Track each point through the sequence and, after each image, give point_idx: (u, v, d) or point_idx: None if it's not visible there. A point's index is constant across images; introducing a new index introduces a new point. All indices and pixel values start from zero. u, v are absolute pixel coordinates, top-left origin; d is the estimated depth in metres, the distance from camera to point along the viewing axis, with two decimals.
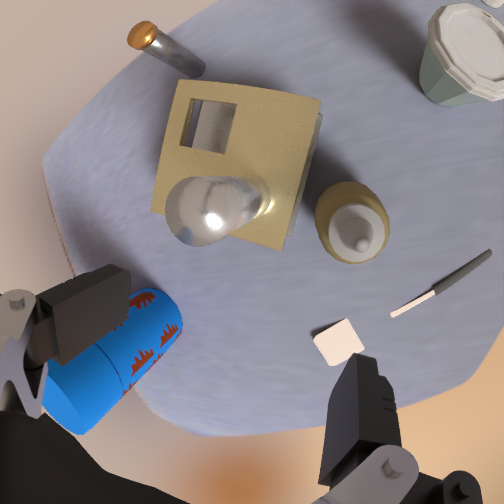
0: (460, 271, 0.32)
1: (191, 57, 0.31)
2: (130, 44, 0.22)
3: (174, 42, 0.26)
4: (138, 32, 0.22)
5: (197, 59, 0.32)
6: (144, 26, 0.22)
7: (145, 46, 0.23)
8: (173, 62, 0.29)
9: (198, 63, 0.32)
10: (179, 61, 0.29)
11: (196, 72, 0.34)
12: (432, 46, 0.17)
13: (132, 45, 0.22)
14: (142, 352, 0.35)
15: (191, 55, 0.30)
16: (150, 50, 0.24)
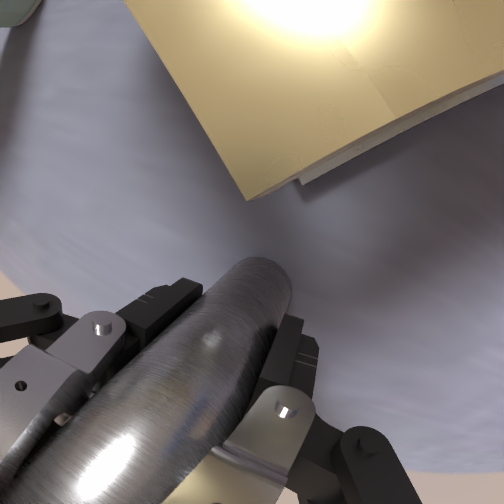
0: None
1: (193, 303, 0.09)
2: None
3: None
4: None
5: None
6: None
7: None
8: (218, 353, 0.06)
9: (220, 279, 0.11)
10: (205, 330, 0.07)
11: (256, 268, 0.11)
12: None
13: None
14: None
15: None
16: None
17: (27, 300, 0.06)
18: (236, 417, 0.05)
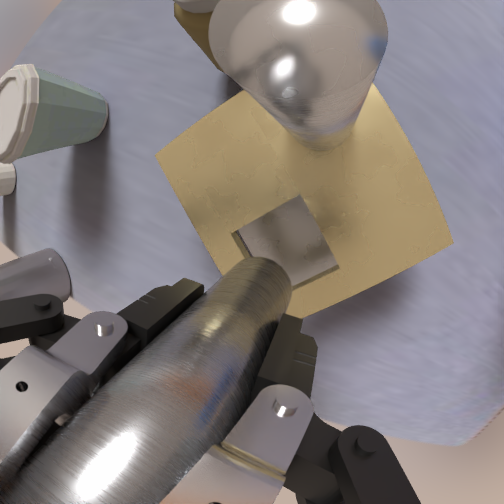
0: None
1: None
2: None
3: None
4: None
5: None
6: None
7: None
8: (219, 352, 0.06)
9: (221, 278, 0.11)
10: (206, 330, 0.07)
11: (256, 267, 0.11)
12: (29, 130, 0.18)
13: None
14: None
15: None
16: None
17: (28, 301, 0.06)
18: (237, 416, 0.05)
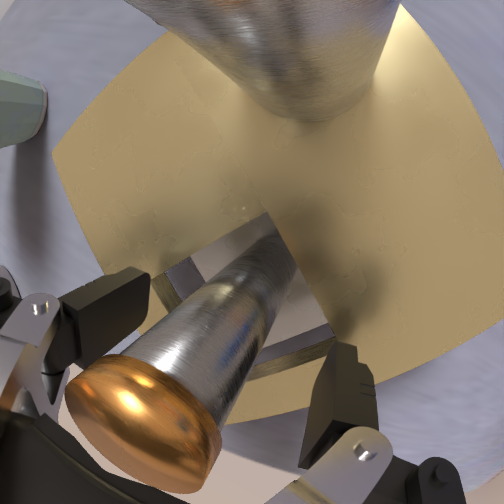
0: None
1: None
2: (194, 474, 0.04)
3: None
4: (129, 454, 0.04)
5: None
6: (96, 435, 0.05)
7: (161, 387, 0.04)
8: (258, 278, 0.10)
9: (249, 247, 0.15)
10: (249, 268, 0.11)
11: (274, 240, 0.16)
12: None
13: (189, 463, 0.04)
14: None
15: None
16: (209, 360, 0.06)
17: None
18: (270, 317, 0.10)
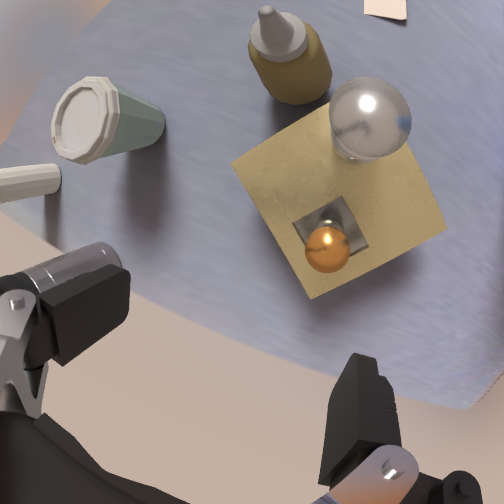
0: None
1: (320, 217, 0.30)
2: (347, 252, 0.21)
3: (315, 228, 0.26)
4: (326, 255, 0.21)
5: (319, 218, 0.32)
6: (314, 253, 0.21)
7: (339, 230, 0.21)
8: (338, 220, 0.27)
9: (323, 213, 0.32)
10: (333, 217, 0.28)
11: (333, 211, 0.32)
12: (112, 136, 0.26)
13: (347, 247, 0.21)
14: None
15: (318, 219, 0.30)
16: None
17: None
18: None
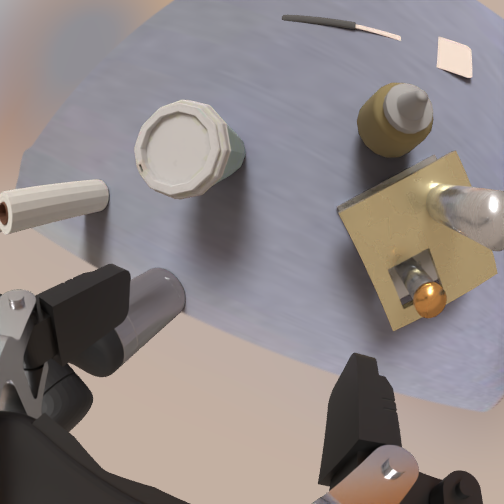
0: (322, 22, 0.31)
1: (403, 261, 0.32)
2: (444, 302, 0.23)
3: (409, 276, 0.28)
4: (430, 305, 0.23)
5: None
6: (422, 303, 0.24)
7: (439, 285, 0.23)
8: (421, 267, 0.29)
9: None
10: (417, 264, 0.30)
11: None
12: (221, 175, 0.28)
13: (445, 299, 0.23)
14: None
15: (401, 263, 0.32)
16: None
17: None
18: None
